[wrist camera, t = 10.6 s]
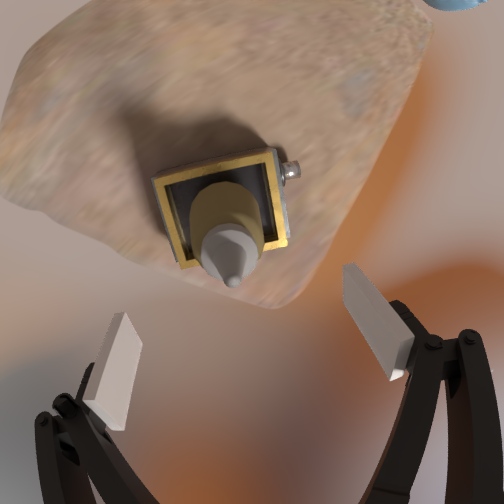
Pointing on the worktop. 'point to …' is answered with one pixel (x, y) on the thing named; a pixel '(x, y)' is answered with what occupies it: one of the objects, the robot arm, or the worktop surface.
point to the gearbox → (220, 170)
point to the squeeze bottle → (226, 231)
